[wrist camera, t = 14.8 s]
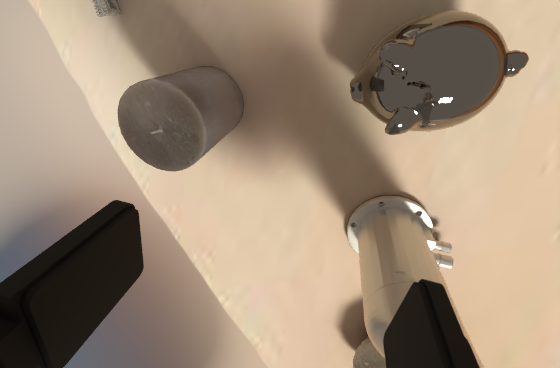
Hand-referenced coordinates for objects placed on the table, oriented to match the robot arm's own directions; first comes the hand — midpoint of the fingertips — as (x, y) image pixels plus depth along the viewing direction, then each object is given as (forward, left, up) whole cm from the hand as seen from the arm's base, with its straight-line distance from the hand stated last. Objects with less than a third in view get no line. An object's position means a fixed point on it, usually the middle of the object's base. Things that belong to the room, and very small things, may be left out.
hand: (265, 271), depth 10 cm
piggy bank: (-10, -5, -32) cm, 34 cm away
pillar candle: (+15, +4, -32) cm, 36 cm away
